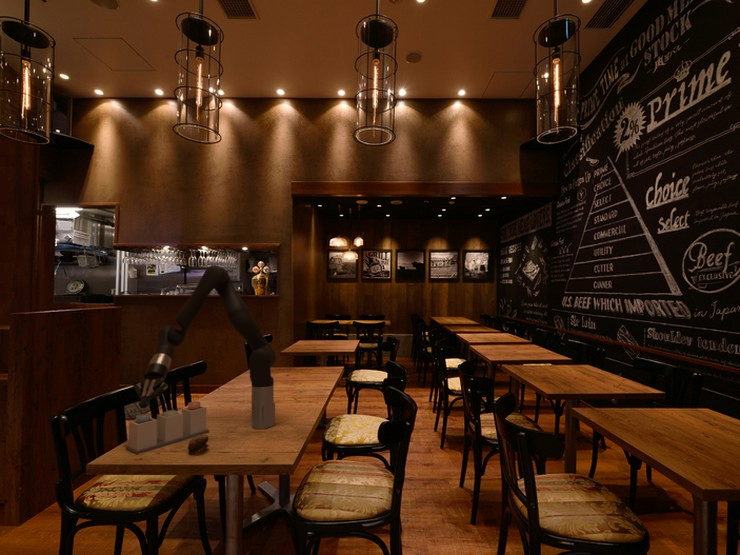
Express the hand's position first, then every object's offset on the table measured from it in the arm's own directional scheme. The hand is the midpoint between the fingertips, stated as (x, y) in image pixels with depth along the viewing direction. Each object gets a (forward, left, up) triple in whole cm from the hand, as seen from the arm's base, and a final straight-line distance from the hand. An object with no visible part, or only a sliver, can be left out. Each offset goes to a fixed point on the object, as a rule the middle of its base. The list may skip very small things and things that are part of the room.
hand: (142, 407), depth 146 cm
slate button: (0, 0, -6) cm, 6 cm away
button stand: (0, -11, -15) cm, 18 cm away
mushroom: (-20, -11, -15) cm, 27 cm away
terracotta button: (0, -20, -6) cm, 21 cm away
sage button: (0, -10, -7) cm, 13 cm away
